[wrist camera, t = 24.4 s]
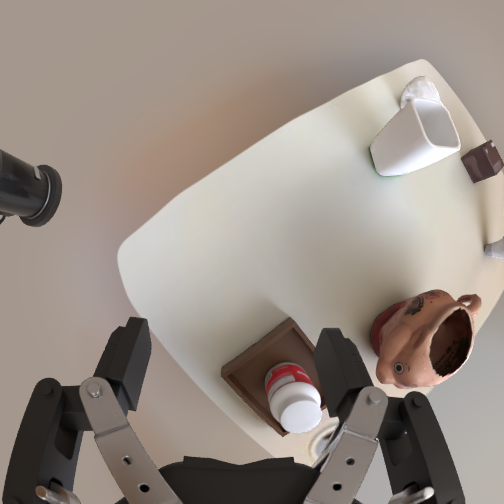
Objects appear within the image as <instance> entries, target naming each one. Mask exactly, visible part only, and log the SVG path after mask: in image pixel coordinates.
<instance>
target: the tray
mask: <svg viewBox="0 0 504 504" xmlns="http://www.w3.org/2000/svg"><path fill="white" fill-rule="evenodd" d="M314 350H315V346H314V345H313V344H312V343H311V341H310V340H309V339H308V338H307V336H306V335H305V334H304V333H303V331H302V330H301V329H300V328H299V326H298V325H297V324H296V322H295V321H294V320H293V319H292V318H291V317H289V318H288V319H287V320H285V321H284V322H283V323H282V324H280V325H279V326H278V327H276V328H275V329H274V330H273V331H271V332H270V333H269V334H267V335H266V336H265V337H263V338H262V339H261V340H259V341H258V342H257V343H255V344H254V345H253V346H251V347H250V348H249V349H247V350H246V351H244V352H243V353H242V354H240V355H239V356H237V357H236V358H235V359H233V360H232V361H230V362H229V363H228V364H226V365H225V366H223V367H222V371H221V377H222V378H223V379H224V380H225V381H226V382H227V383H228V384H229V385H230V386H231V387H232V388H233V389H234V390H235V391H236V393H237V394H238V395H239V396H240V397H241V398H242V399H243V400H244V401H245V402H246V403H247V404H248V405H249V406H250V407H251V408H252V409H253V410H254V411H255V412H256V413H257V414H258V415H259V416H260V417H261V418H262V419H264V420H265V421H266V422H267V423H268V424H269V425H270V426H271V427H272V428H273V429H274V430H275V431H276V432H277V433H279V434H280V435H281V436H282V437H284V436H285V435H287V434H288V433H290V432H288V431H286V430H285V429H284V428H283V427H282V425H281V423H280V422H278V421H277V420H276V419H275V418H274V417H273V415H272V413H271V410H270V406H269V401H268V397H267V393H266V389H265V378H266V375H267V373H268V372H269V370H270V369H271V368H273V367H274V366H276V365H278V364H280V363H284V362H291V363H295V364H297V365H299V366H300V367H302V368H303V370H304V371H305V372H306V374H307V376H308V377H309V379H310V380H311V382H312V383H313V385H314V386H315V388H316V389H317V391H318V393H319V395H320V399H321V404H320V408H321V411H322V410H324V409H325V408H326V407H327V406H326V402H325V398H324V395H323V391H322V388H321V384H320V381H319V377H318V374H317V370H316V367H315V364H314Z"/></svg>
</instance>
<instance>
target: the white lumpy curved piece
mask: <svg viewBox="0 0 504 504" xmlns="http://www.w3.org/2000/svg"><path fill="white" fill-rule="evenodd" d="M413 97H420V98H425V99H430V100H435V101H438V102H440V103H441V101H440V97H439V93H438V91H437V89H436V87H435V86H434V84H433V83H432V82H431V81H430V80H429V79H428V78H427V77H426V76H419V77H416V78H414V79H413V80H412V81H410V82H409V83H408V84H407V86H405V88H404V91H403V92H402V96H401V104H400V107H401V109H402V108H403V107H404V106H405V105H406V104H407V103H408V99H409V100H411V99H412V98H413Z"/></svg>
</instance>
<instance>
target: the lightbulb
mask: <svg viewBox="0 0 504 504" xmlns="http://www.w3.org/2000/svg"><path fill="white" fill-rule="evenodd" d="M485 253H486V255H487V256H489V257H490V256H492V257H495V258H500V259H502V260H504V237H503V238H502V239H501V240H499V241H497V242H494V243H492V244H487V245H486V247H485Z"/></svg>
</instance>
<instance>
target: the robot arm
mask: <svg viewBox="0 0 504 504" xmlns="http://www.w3.org/2000/svg"><path fill="white" fill-rule="evenodd" d="M51 192H52V183H51V178H50V176H49V175H48V173H46V172H45V171H43V170H39V169H38V168H37V167H36V166H32V165H30V164H28V163H26V162H24V161H22V160H20V159H18V158H16V157H14V156H12V155H10V154H8V153H6V152H4V151H2V150H1V149H0V215H3V217H2V219H1V220H0V224H1V223H2V222H3V221H4V219H5V217H6V216H13V215H18V216H22V217H25V218H28V219H35V218H37V217H39V216H40V215H41V214H42V213H43V212H44V210H45V209H46V207H47V205H48V203H49V200H50V197H51ZM150 355H151V338H150V333H149V327H148V322H147V319H145V318H137V317H130V318H129V320H128V322H127V325H126V327H121V326H119V327H118V328H117V329H116V330H115V331H114V332H113V333H112V334H111V336H110V338H109V340H108V343H107V345H106V347H105V350H104V352H103V354H102V357H101V359H100V361H99V363H98V366H97V368H96V370H95V373H94V375H93V377H90V378H88V379H86V380H85V381H83V382H82V384H81V385H79V386H61V385H60V383H59V382H58V381H57V380H55V379H53V378H45V379H42V380H41V381H39V382H38V383H37V385H36V386H35V388H34V391H33V393H32V396H31V398H30V401H29V403H28V406H27V408H26V411H25V414H24V416H23V419H22V422H21V425H20V428H19V431H18V434H17V437H16V441H15V444H14V447H13V451H12V454H11V458H10V462H9V466H8V471H7V475H6V480H5V485H4V491H3V497H2V501H3V504H81V502H80V501H79V499H78V498H77V496H76V495H75V494H74V493H72V491H73V484H74V477H75V471H76V466H77V460H78V455H79V450H80V446H81V441H82V436H83V432H84V431H94V433H95V436H94V438H95V441H96V444H97V446H98V448H99V450H100V452H101V454H102V456H103V458H104V460H105V462H106V464H107V466H108V468H109V470H110V472H111V474H112V476H113V477H114V479H115V481H116V483H117V484H118V486H119V488H120V489H121V491H122V493H123V494H124V496H125V497H123V498H122V499H121V500H119V501H118V502H117V503H115V504H362V503H361V502H359V501H358V500H356V499H355V496H356V494H357V492H358V490H359V488H360V486H361V484H362V482H363V480H364V477H365V475H366V473H367V470H368V468H369V466H370V464H371V461H372V459H373V457H374V454H375V452H376V449H377V446H378V440H376V438H378V439H379V442H380V446H381V449H382V453H383V457H384V461H385V464H386V468H387V472H388V476H389V480H390V485H391V489H392V493H393V497H392V498H391V499H390V501H389V503H388V504H465V497H464V494H463V490H462V487H461V484H460V481H459V477H458V474H457V471H456V468H455V466H454V462H453V460H452V457H451V454H450V451H449V449H448V446H447V444H446V441H445V438H444V436H443V433H442V431H441V428H440V426H439V423H438V421H437V419H436V416H435V414H434V412H433V410H432V407H431V405H430V403H429V401H428V399H427V397H426V396H425V395H424V394H422V393H420V392H417V391H412V392H409V393H408V394H407V395H406V396H405V397H404V398H397V397H388V396H387V395H386V393H385V392H384V391H383V390H381V389H380V388H377V387H374V385H373V383H372V380H371V378H370V376H369V374H368V371H367V369H366V367H365V365H364V362H362V361H363V360H362V358H361V356H360V355H359V351H358V349H357V347H356V345H355V344H354V343H353V342H352V341H351V340H350V339H349V338H344V337H343V335H342V332H341V330H340V329H339V328H323V329H322V331H321V334H320V336H319V339H318V342H317V345H316V348H315V350H314V364H315V367H316V370H317V374H318V377H319V381H320V384H321V388H322V391H323V395H324V398H325V402H326V406H327V409H328V413H329V416H330V418H331V417H338V418H339V422H338V424H337V426H336V428H335V430H334V432H333V433H332V435H331V437H330V439H329V441H328V443H327V444H326V446H325V448H324V450H323V451H322V453H321V454H320V456H319V457H318V459H317V460H316V461H315V463H314V464H313V466H312V467H310V466H307V465H304V464H300V463H295V462H294V457H286V458H271V459H264V460H261V461H257V462H252V463H248V464H244V465H236V464H231V463H227V462H223V461H219V460H215V459H212V458H200V457H188V456H184V460H183V462H176V463H172V464H169V465H166V466H164V467H162V468H160V469H157V467H156V466H155V464H154V463H153V461H152V460H151V459H150V457H149V455H148V454H147V452H146V451H145V449H144V448H143V446H142V444H141V443H140V441H139V440H138V438H137V436H136V434H135V432H134V431H133V429H132V427H131V425H130V424H129V422H128V420H127V418H126V417H127V413H128V410H132V411H136V409H137V404H138V400H139V396H140V392H141V388H142V384H143V380H144V377H145V373H146V369H147V366H148V362H149V358H150Z"/></svg>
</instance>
